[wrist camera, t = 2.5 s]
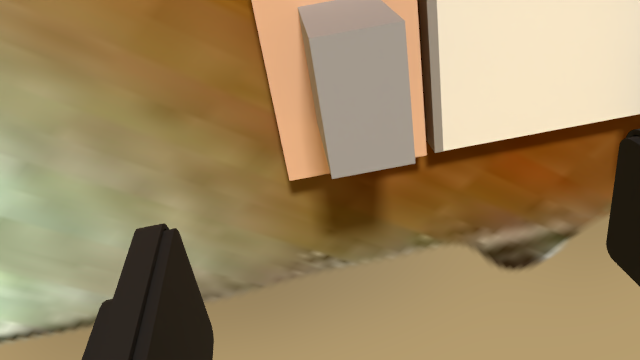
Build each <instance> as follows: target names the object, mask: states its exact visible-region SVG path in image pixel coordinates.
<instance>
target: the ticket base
mask: <svg viewBox="0 0 640 360" xmlns="http://www.w3.org/2000/svg"><path fill="white" fill-rule="evenodd" d="M419 13H420V29H421V46H422V62H423V79H424V95H425V112H426V128H427V142H428V144H429V145H430V147H431V148H432V149H433V151H434V152H435V153H438V152H443V151H446V150H451V149H457V148H462V147H467V146H473V145H478V144H483V143H489V142H494V141H499V140H504V139H510V138H515V137H520V136H526V135H531V134H536V133H542V132H547V131H552V130H558V129H563V128H568V127H574V126H579V125H584V124H590V123H595V122H600V121H606V120H611V119H616V118H622V117H627V116H632V115H637V114H640V0H419Z"/></svg>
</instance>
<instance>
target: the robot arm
mask: <svg viewBox="0 0 640 360" xmlns="http://www.w3.org/2000/svg"><path fill="white" fill-rule="evenodd" d="M606 242H607V243H606V245H607V250H608V253H609V255H610V257H611V258H612V259H613V260H614V261H615V262H616V263H617V264H618V265H619V266H620V267H621V268H622V269H623V270H624V271H625V272H626V273H627V274H628V275H629V276H630V277H631V278H632V279H633V280H634V281H635V282H636V283H637V284H638V285H639V286H640V129H635V130H632V131H630V132H629V133H628V135H627V136H626V138H625V139H623V140H622V141H621V143H620V146H619V153H618V160H617V168H616V175H615V182H614V190H613V197H612V204H611V212H610V219H609V227H608V234H607V241H606ZM213 343H214V339H213V330H212V326H211V322H210V320H209V317H208V314H207V311H206V308H205V305H204V302H203V299H202V297H201V294H200V291H199V288H198V285H197V282H196V279H195V276H194V274H193V271H192V268H191V265H190V262H189V259H188V256H187V254H186V251H185V248H184V245H183V242H182V239H181V236H180V234H179V231H178V230H177V229H176V228H175V229H170V230H169V228H168V227H167V225H166V224H159V225H154V226H149V227H144V228H139V229H136V231H135V233H134V236H133V239H132V242H131V245H130V248H129V251H128V254H127V257H126V260H125V263H124V266H123V270H122V273H121V276H120V279H119V282H118V285H117V288H116V291H115V294H114V297H113V299H110V300H106V301H105V302H103V303H102V305H101V307H100V309H99V312H98V315H97V318H96V320H95V323H94V326H93V329H92V332H91V335H90V337H89V341H88V343H87V346H86V349H85V352H84V355H83V357H82V360H212V358H213Z"/></svg>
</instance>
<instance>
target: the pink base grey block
mask: <svg viewBox="0 0 640 360" xmlns="http://www.w3.org/2000/svg"><path fill="white" fill-rule="evenodd" d="M251 1H252V5H253V10H254V15H255V20H256V24H257V29H258V34H259V39H260V43H261V48H262V53H263V58H264V62H265V67H266V72H267V76H268V81H269V86H270V91H271V95H272V100H273V105H274V110H275V114H276V119H277V124H278V129H279V133H280V138H281V143H282V147H283V152H284V157H285V162H286V166H287V171H288V176H289V181H292V180H297V179H303V178H308V177H313V176H319V175H324V174H329V173H331V177H332V179H335V178H340V177H346V176H351V175H356V174H362V173H367V172H372V171H378V170H383V169H388V168H394V167H399V166H404V165H410V164H415V157H420V156H425V155H427V151H426V135H425V119H424V102H423V86H422V70H421V54H420V38H419V22H418V6H417V0H251Z"/></svg>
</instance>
